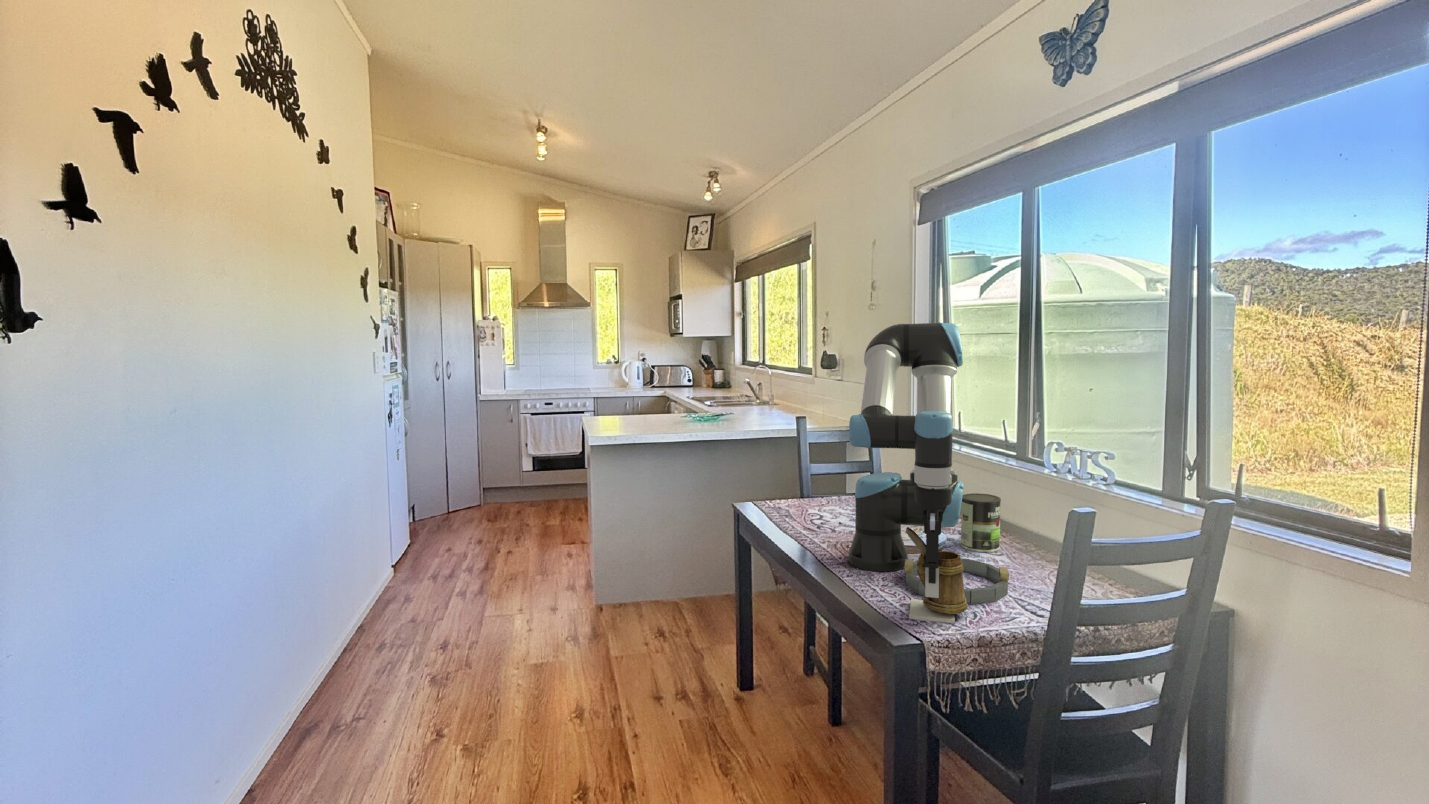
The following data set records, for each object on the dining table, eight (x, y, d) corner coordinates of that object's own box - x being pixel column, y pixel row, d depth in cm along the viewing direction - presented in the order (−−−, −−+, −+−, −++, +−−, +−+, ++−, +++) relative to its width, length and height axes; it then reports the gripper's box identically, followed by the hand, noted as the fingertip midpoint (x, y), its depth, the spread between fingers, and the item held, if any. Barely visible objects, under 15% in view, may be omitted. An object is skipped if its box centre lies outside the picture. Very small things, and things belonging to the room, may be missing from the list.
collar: (902, 597, 154) (902, 578, 153) (907, 565, 175) (907, 548, 174) (1012, 608, 146) (1012, 588, 146) (1003, 573, 168) (1004, 555, 167)
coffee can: (1006, 546, 188) (1007, 497, 187) (988, 555, 181) (989, 503, 180) (971, 538, 196) (972, 491, 194) (953, 546, 189) (953, 497, 188)
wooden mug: (896, 601, 147) (896, 521, 145) (953, 595, 150) (954, 516, 148) (915, 618, 139) (916, 533, 137) (975, 612, 141) (977, 528, 139)
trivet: (909, 618, 142) (909, 615, 142) (911, 602, 151) (911, 599, 151) (954, 623, 140) (954, 619, 140) (953, 606, 148) (953, 603, 148)
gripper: (952, 496, 132) (951, 610, 134) (951, 476, 151) (950, 575, 153) (912, 494, 134) (911, 606, 137) (916, 474, 153) (915, 572, 155)
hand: (932, 589), depth 145 cm, fingers open, 7 cm apart
